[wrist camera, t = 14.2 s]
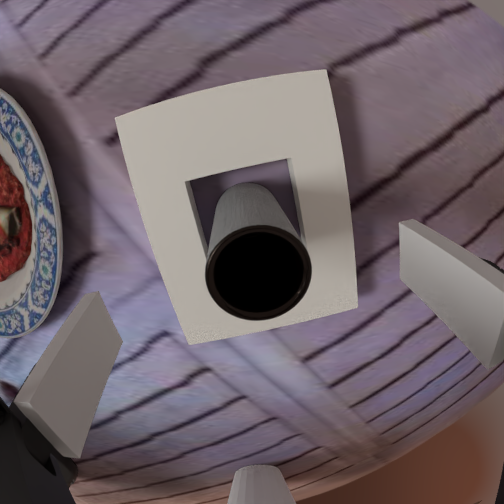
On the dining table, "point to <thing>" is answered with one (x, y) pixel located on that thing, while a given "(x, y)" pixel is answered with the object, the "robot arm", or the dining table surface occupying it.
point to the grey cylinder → (255, 256)
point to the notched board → (233, 157)
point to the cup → (259, 486)
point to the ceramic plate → (26, 225)
